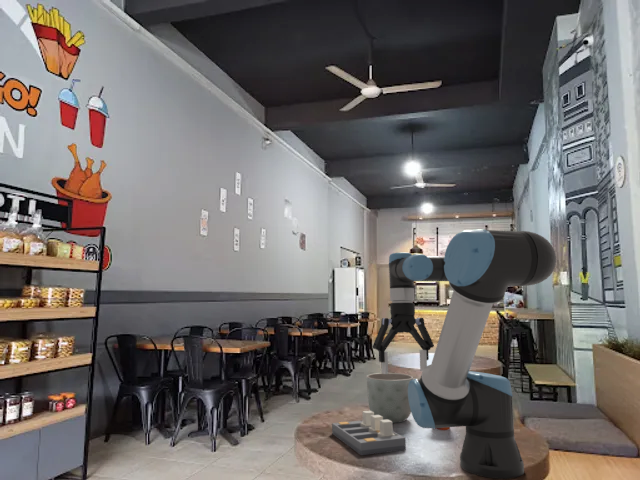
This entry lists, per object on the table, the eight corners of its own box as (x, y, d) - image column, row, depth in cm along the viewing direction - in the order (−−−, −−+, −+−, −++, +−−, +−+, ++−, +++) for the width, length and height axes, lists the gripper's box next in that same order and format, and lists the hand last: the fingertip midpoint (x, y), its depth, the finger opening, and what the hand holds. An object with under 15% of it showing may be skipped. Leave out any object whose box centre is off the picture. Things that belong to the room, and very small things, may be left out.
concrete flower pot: (412, 428, 150) (411, 381, 152) (362, 424, 154) (362, 378, 156) (416, 416, 166) (415, 373, 168) (371, 413, 170) (370, 372, 173)
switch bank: (405, 449, 127) (405, 437, 128) (361, 455, 122) (360, 442, 123) (371, 429, 148) (371, 418, 148) (332, 433, 143) (332, 422, 143)
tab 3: (395, 441, 130) (394, 421, 131) (383, 443, 129) (382, 422, 129) (389, 438, 133) (389, 418, 134) (377, 439, 132) (377, 420, 133)
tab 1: (376, 430, 141) (376, 412, 142) (365, 432, 140) (364, 413, 141) (371, 428, 144) (371, 410, 145) (360, 429, 143) (360, 411, 144)
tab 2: (385, 436, 135) (385, 416, 136) (373, 437, 134) (373, 417, 135) (380, 433, 139) (380, 414, 139) (368, 434, 137) (368, 415, 138)
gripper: (429, 302, 147) (432, 369, 144) (361, 302, 139) (362, 373, 135) (443, 302, 140) (446, 372, 137) (371, 301, 132) (373, 376, 128)
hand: (404, 372), depth 136 cm, fingers open, 13 cm apart
